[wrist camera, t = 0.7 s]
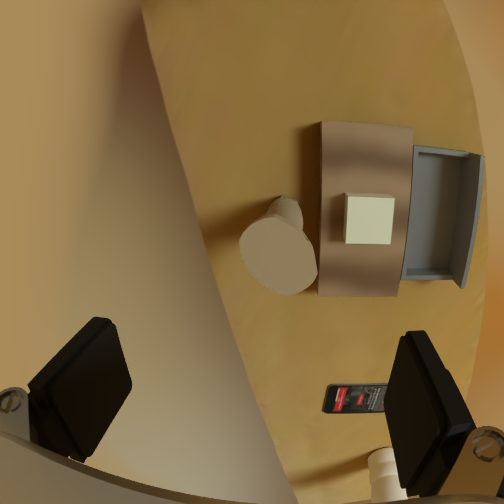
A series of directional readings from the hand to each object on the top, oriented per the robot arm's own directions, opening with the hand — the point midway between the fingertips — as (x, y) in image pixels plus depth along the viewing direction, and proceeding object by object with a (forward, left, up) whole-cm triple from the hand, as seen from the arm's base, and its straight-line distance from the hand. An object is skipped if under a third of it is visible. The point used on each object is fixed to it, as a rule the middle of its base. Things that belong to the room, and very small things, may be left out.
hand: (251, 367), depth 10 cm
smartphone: (+34, +15, -30) cm, 48 cm away
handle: (+2, 0, -30) cm, 30 cm away
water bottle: (+53, +22, -30) cm, 65 cm away
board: (+2, +9, -29) cm, 31 cm away
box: (+2, +18, -29) cm, 35 cm away
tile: (+2, +9, -26) cm, 28 cm away
